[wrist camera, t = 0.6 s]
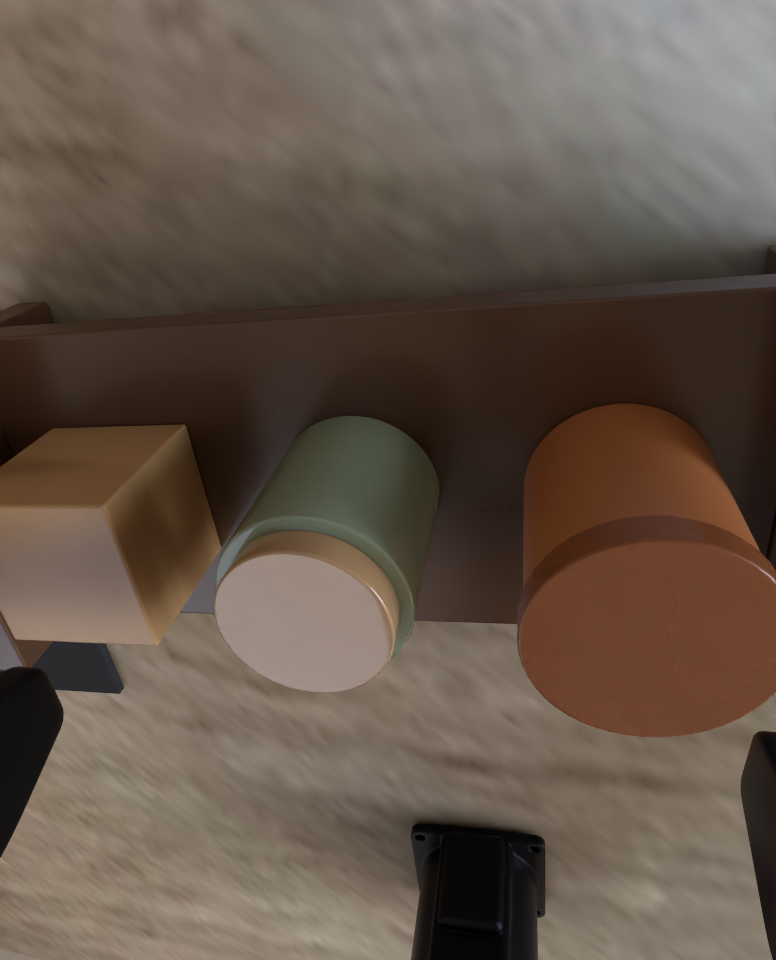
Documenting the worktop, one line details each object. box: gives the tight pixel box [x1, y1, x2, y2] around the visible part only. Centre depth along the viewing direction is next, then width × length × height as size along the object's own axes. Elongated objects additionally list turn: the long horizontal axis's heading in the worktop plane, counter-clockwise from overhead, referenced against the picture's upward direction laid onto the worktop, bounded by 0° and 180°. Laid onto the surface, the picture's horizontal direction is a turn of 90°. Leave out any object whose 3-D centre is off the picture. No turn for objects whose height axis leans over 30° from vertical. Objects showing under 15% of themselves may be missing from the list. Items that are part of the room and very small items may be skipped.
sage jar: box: [214, 416, 440, 693], centre depth 17 cm, size 5×5×6 cm
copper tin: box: [517, 404, 776, 737], centre depth 15 cm, size 5×5×6 cm
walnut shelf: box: [0, 246, 776, 670], centre depth 20 cm, size 10×24×7 cm, turn 97°
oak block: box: [0, 424, 221, 646], centre depth 19 cm, size 4×4×4 cm
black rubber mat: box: [0, 641, 123, 694], centre depth 31 cm, size 9×9×1 cm
